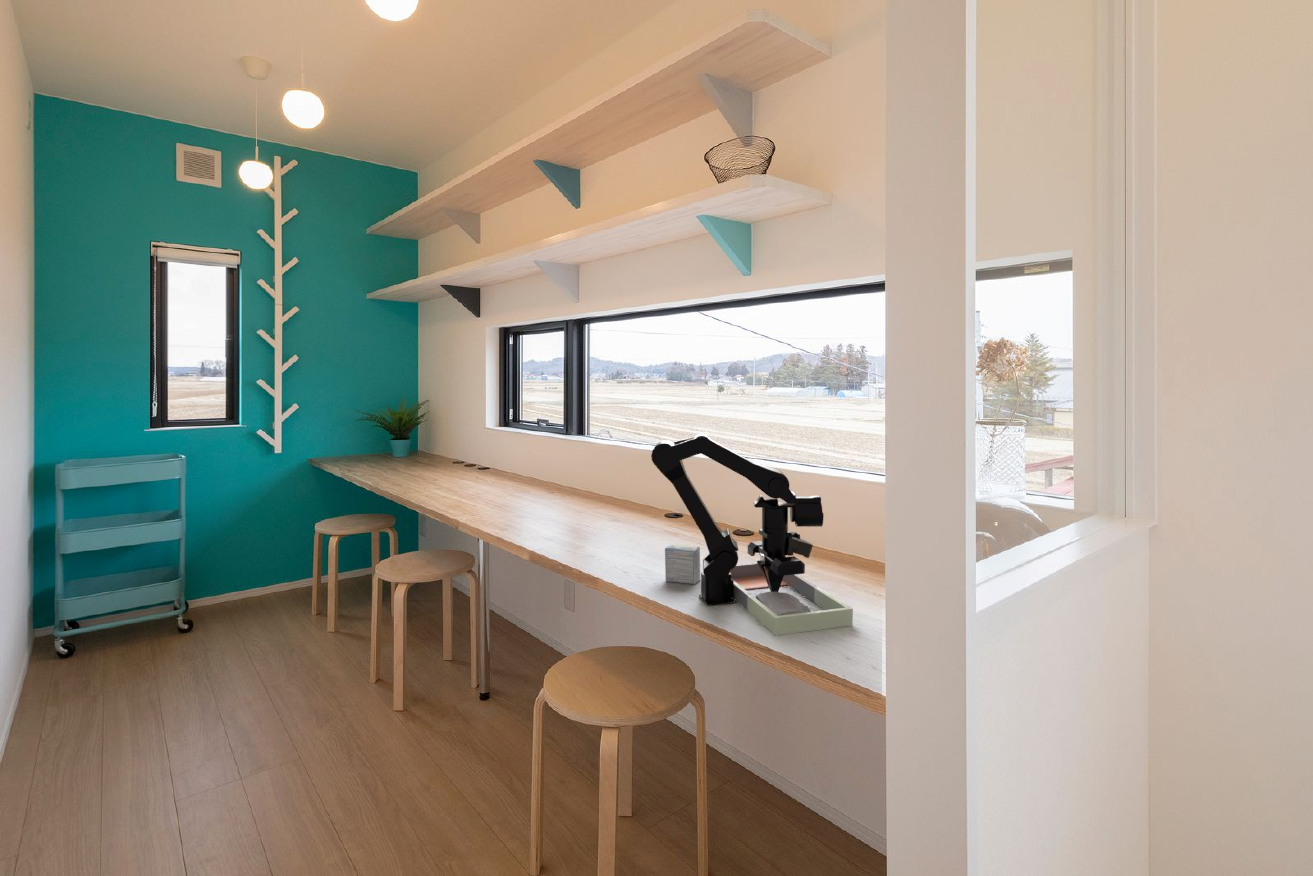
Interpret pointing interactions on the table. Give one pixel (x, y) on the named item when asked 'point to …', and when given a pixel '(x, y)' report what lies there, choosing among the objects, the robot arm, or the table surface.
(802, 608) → the stone block
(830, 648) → the table surface
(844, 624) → the open tray box
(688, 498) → the robot arm
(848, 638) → the table surface
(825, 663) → the table surface
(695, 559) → the medicine box
